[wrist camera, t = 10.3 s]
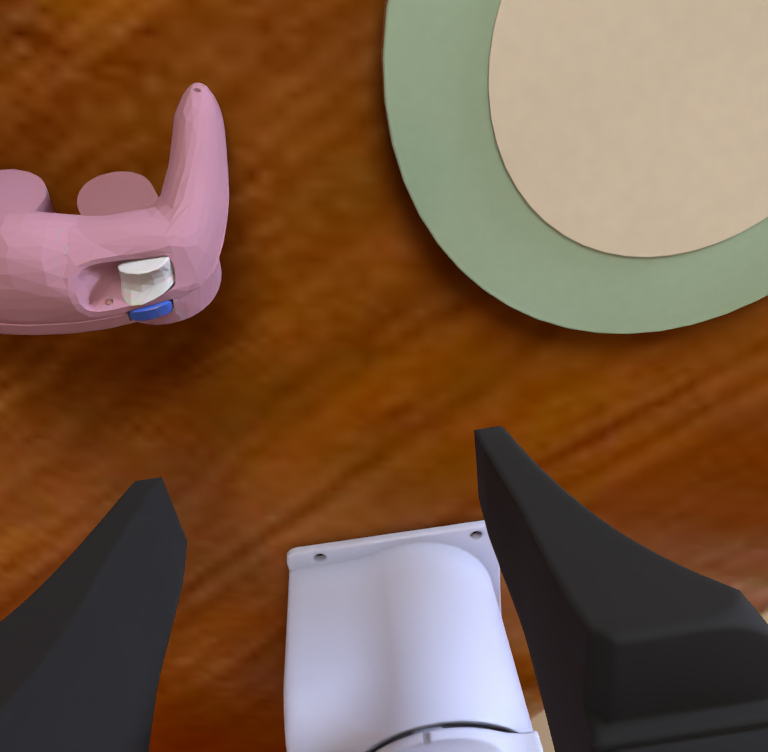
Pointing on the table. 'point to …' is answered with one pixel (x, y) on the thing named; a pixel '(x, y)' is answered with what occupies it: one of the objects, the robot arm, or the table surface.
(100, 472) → the table surface
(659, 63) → the plate
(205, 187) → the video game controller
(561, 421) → the table surface
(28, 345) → the table surface
